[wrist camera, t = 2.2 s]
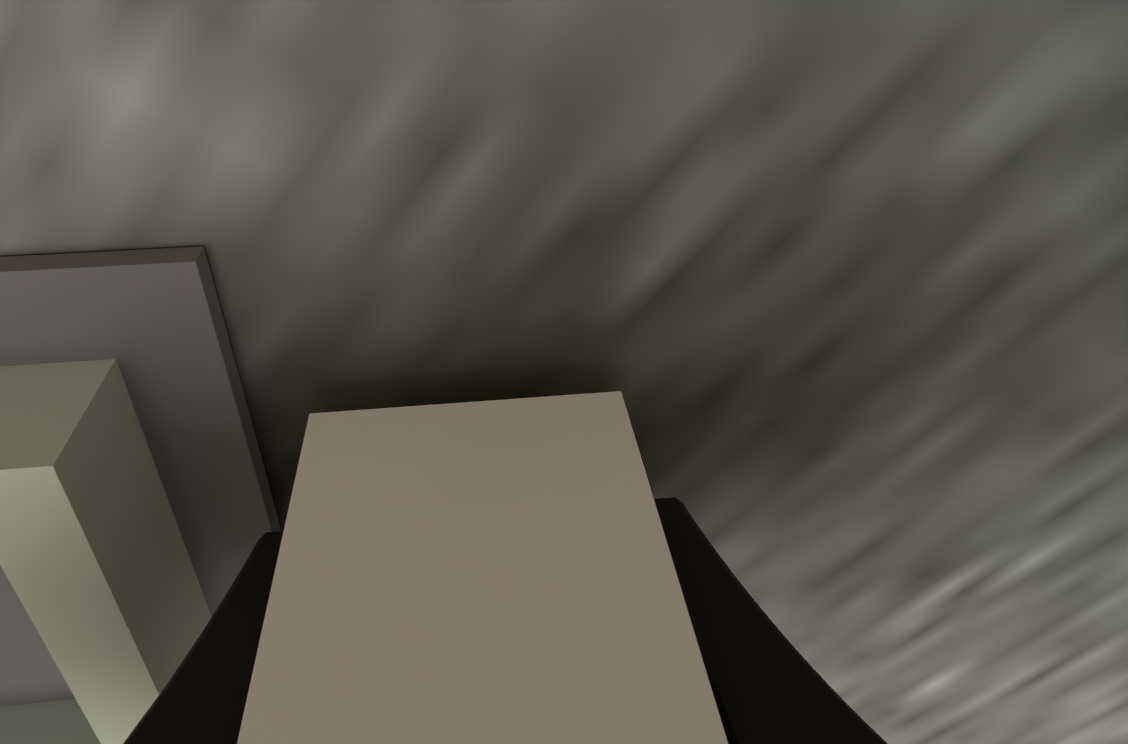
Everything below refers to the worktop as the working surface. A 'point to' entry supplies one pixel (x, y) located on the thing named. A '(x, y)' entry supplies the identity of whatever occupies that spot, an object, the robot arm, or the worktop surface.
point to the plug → (477, 585)
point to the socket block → (115, 484)
